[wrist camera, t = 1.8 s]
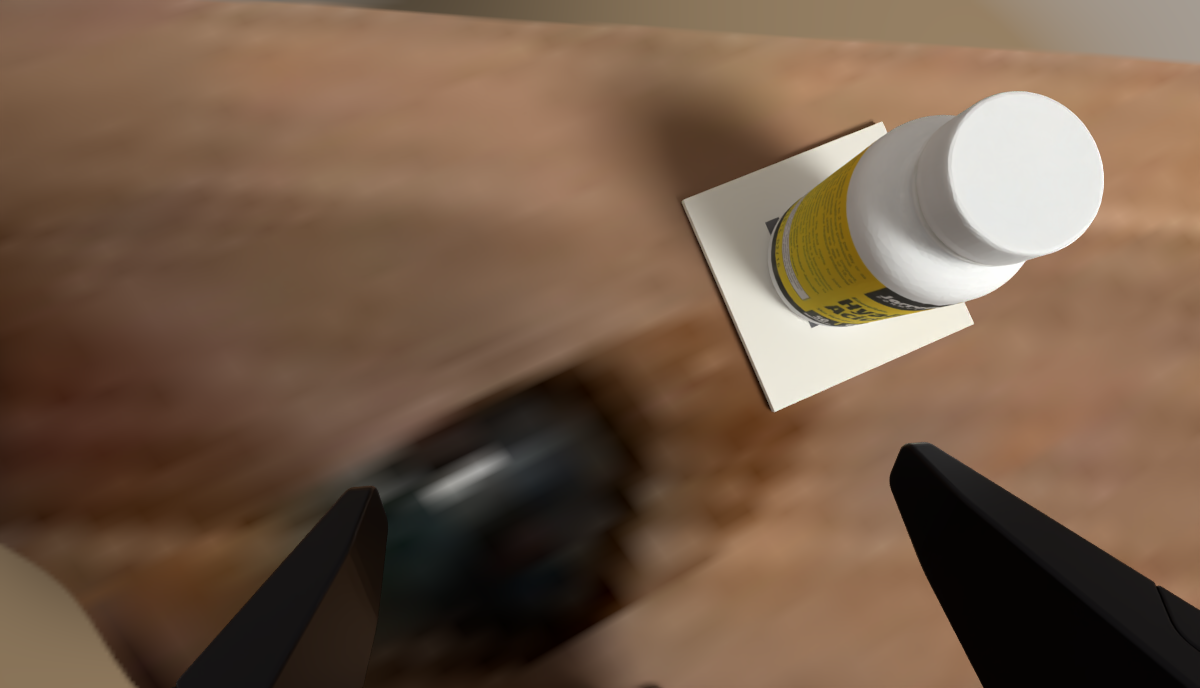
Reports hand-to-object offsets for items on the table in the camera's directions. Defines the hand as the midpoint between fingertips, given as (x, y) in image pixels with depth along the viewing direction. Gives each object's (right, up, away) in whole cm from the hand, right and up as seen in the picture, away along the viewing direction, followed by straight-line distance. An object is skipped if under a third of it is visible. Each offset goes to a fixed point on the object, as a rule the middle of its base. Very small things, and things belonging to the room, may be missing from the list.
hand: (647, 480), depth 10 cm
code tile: (+8, +6, +14) cm, 17 cm away
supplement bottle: (+8, +6, +14) cm, 17 cm away
